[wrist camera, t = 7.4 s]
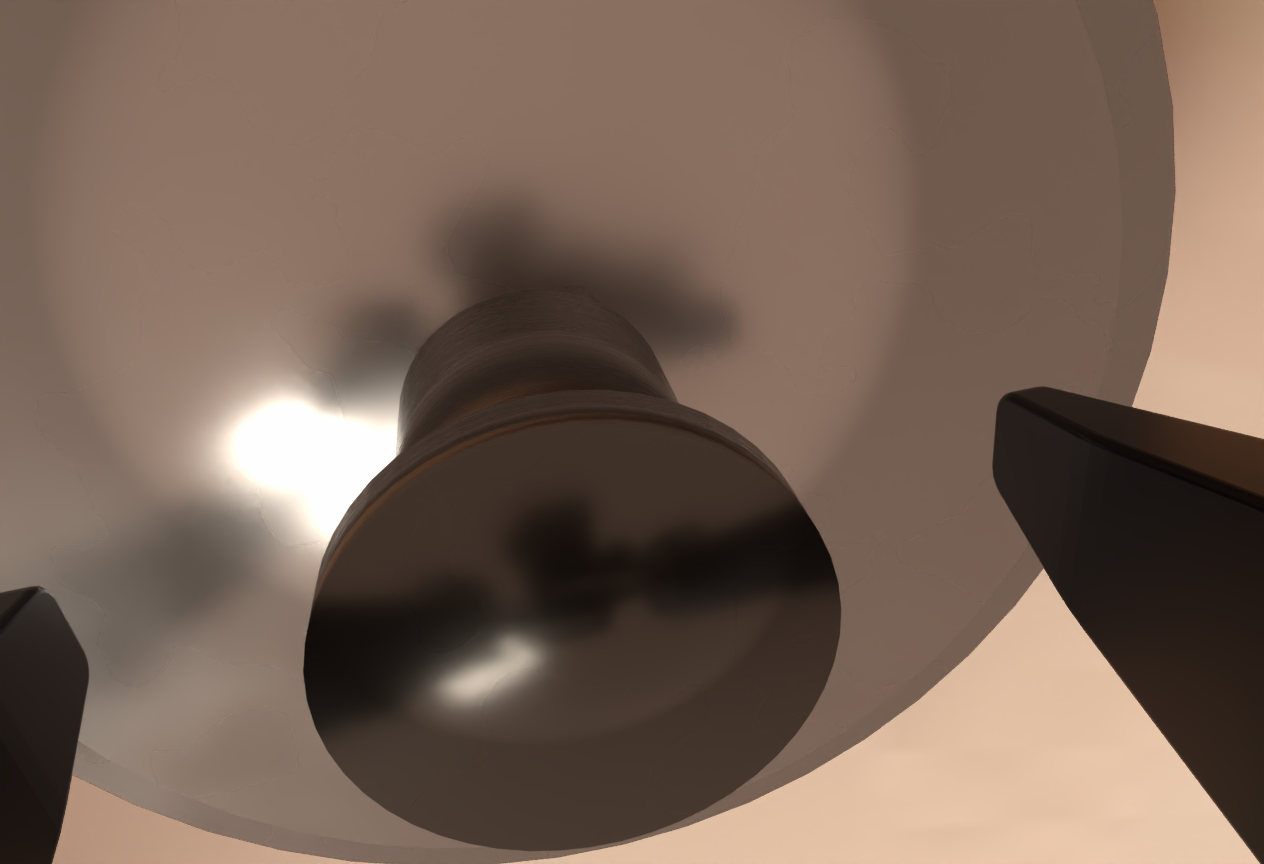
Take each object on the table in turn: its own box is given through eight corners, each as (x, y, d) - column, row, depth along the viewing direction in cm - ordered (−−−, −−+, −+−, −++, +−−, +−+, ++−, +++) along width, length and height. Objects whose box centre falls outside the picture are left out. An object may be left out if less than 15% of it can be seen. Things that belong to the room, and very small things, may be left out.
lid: (1068, 696, 16) (1319, 1005, 12) (118, 922, 15) (-28, 1377, 10) (1238, -592, 9) (2198, -1203, 4) (-720, -381, 7) (-2951, -964, 2)
